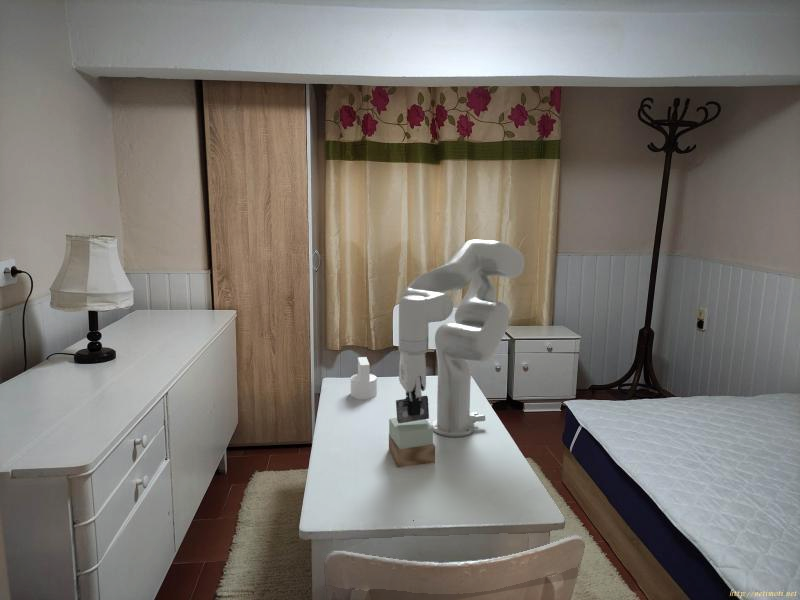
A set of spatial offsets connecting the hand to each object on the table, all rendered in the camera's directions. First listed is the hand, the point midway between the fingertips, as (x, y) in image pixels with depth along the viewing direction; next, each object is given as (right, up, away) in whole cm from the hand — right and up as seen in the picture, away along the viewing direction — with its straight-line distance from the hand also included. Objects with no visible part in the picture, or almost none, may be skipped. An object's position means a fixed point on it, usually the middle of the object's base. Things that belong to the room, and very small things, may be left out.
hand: (412, 412), depth 140 cm
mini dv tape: (0, -2, 0) cm, 2 cm away
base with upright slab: (-16, -3, +46) cm, 49 cm away
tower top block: (-1, -7, +2) cm, 8 cm away
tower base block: (0, -12, +3) cm, 13 cm away
